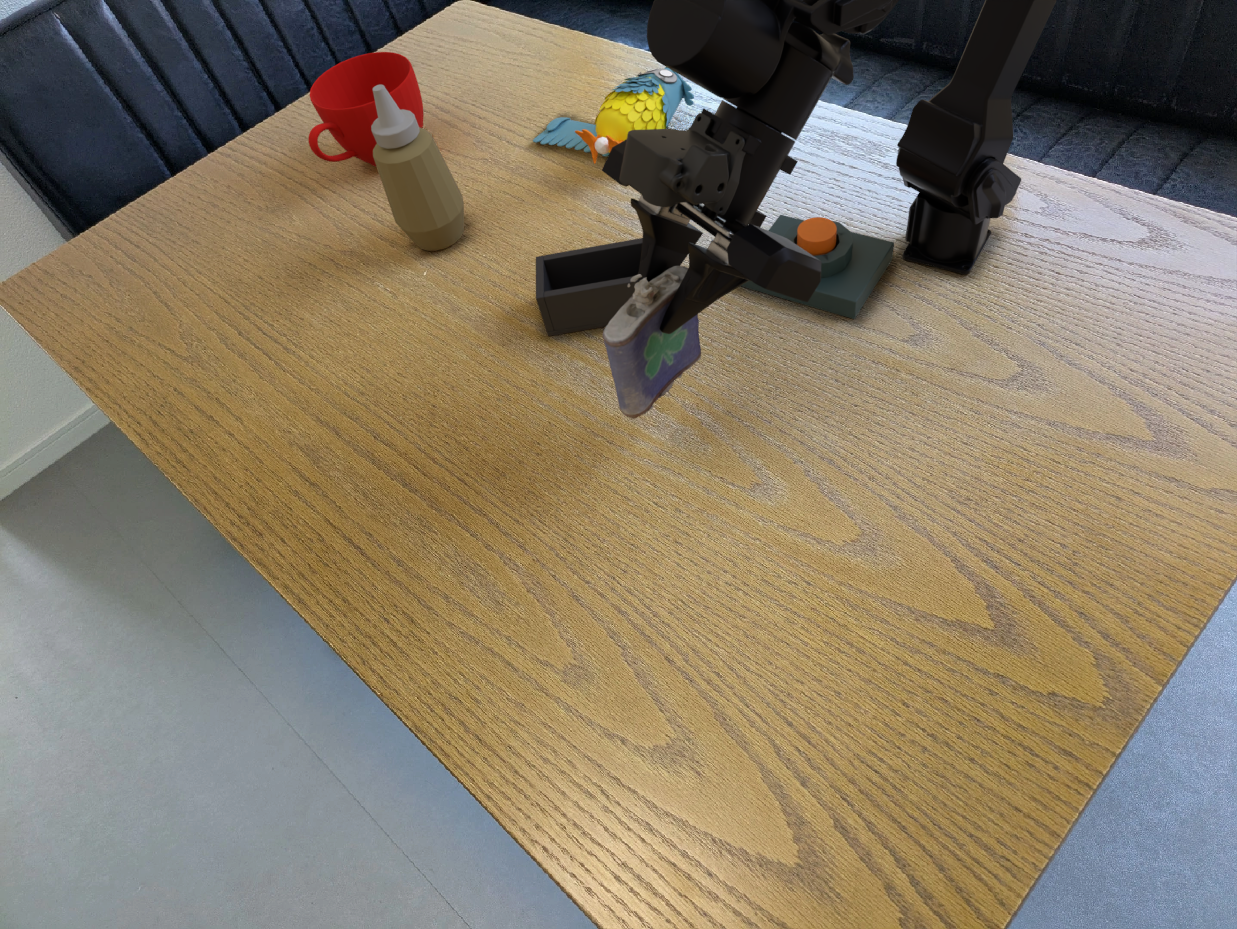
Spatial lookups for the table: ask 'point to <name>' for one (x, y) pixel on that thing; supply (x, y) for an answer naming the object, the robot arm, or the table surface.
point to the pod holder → (586, 285)
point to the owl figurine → (623, 113)
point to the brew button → (817, 235)
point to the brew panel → (840, 269)
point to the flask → (649, 344)
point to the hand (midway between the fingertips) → (651, 320)
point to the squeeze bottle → (415, 177)
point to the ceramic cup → (361, 101)
